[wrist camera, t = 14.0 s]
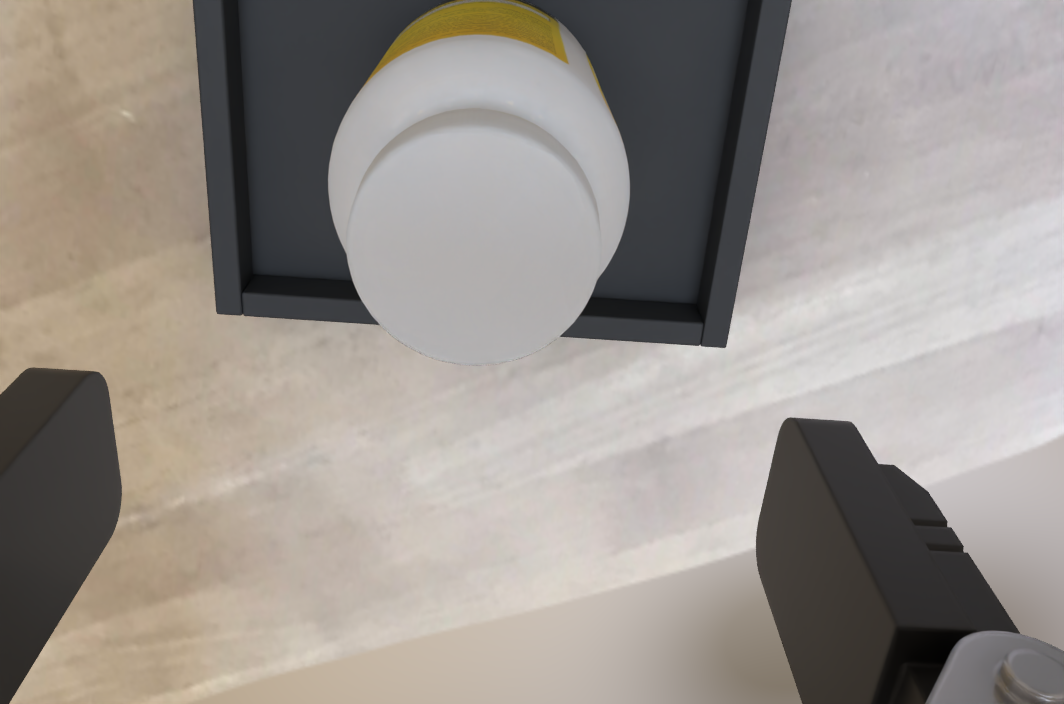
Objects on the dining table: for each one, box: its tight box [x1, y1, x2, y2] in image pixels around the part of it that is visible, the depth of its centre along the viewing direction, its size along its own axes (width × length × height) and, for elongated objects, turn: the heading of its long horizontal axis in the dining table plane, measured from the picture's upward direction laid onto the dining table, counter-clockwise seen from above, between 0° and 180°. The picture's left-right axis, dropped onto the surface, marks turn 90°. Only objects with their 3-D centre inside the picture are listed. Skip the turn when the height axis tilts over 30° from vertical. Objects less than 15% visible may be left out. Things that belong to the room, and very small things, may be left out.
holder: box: [193, 0, 792, 348], centre depth 27 cm, size 16×13×2 cm
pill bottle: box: [328, 0, 630, 366], centre depth 22 cm, size 6×6×12 cm
